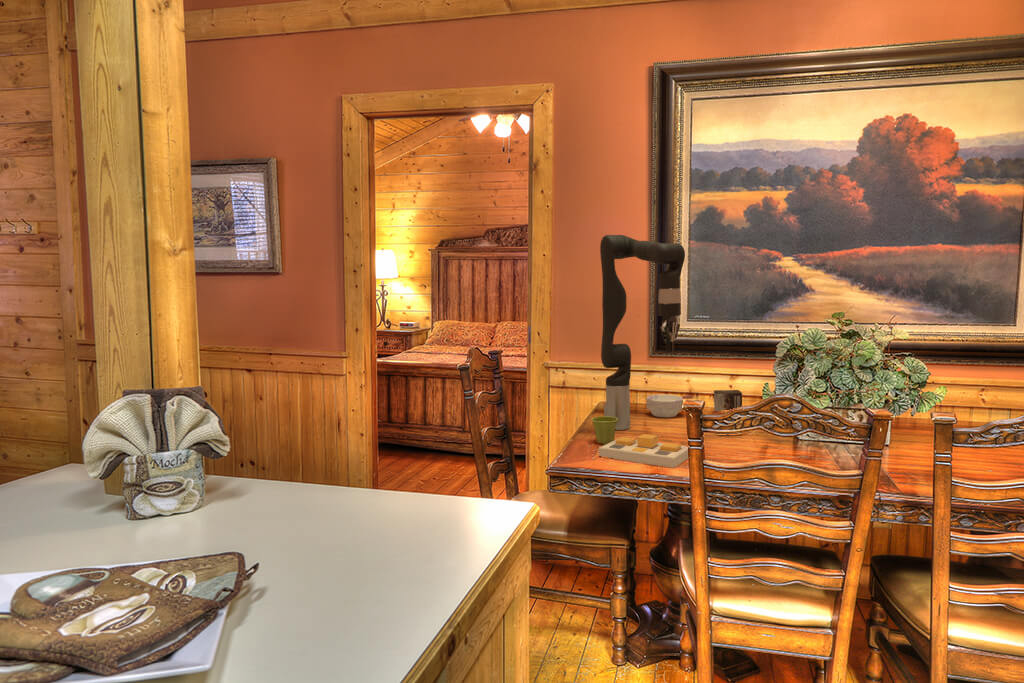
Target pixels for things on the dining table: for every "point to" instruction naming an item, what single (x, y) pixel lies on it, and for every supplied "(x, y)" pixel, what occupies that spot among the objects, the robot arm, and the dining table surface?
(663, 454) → the button board
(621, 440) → the button left
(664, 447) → the button right
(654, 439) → the button middle
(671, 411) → the light grey bowl
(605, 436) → the plant pot
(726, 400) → the coffee box
